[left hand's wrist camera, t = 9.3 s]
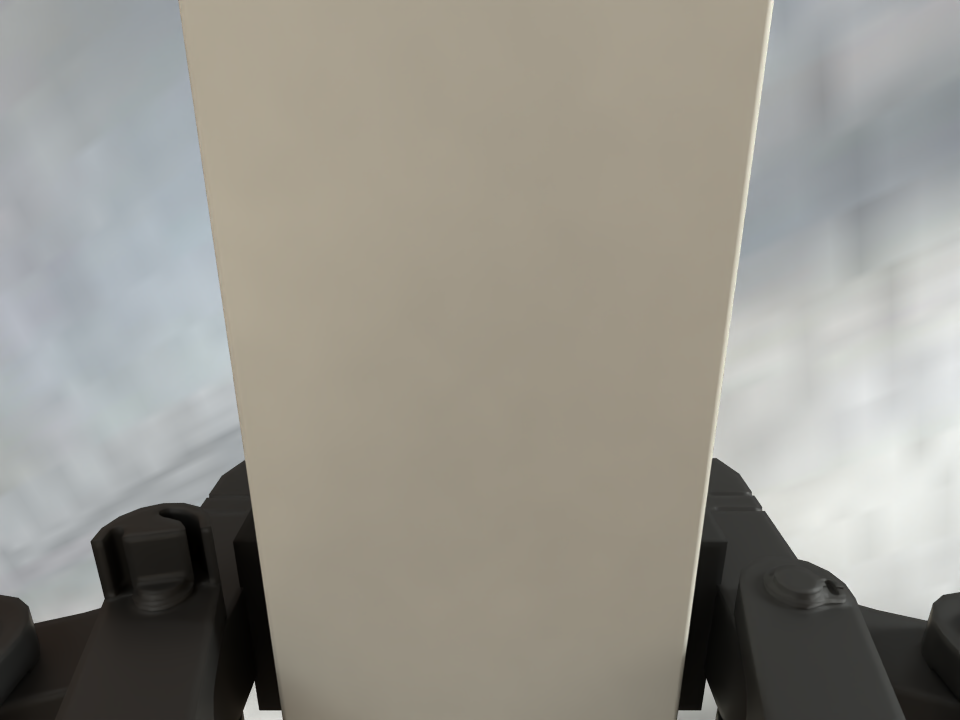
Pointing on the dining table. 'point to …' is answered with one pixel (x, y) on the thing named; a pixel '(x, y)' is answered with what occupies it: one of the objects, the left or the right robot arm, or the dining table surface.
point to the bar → (477, 335)
